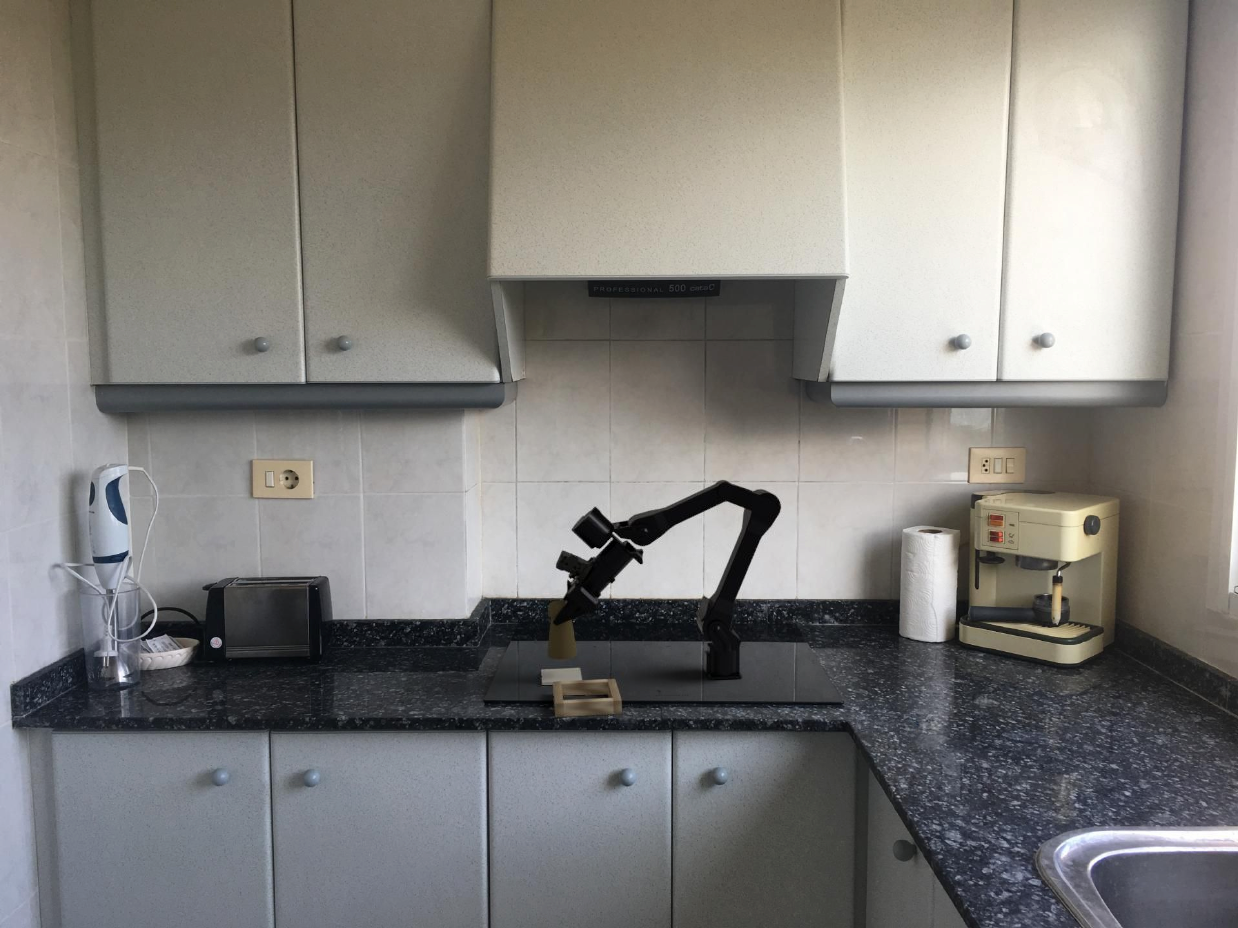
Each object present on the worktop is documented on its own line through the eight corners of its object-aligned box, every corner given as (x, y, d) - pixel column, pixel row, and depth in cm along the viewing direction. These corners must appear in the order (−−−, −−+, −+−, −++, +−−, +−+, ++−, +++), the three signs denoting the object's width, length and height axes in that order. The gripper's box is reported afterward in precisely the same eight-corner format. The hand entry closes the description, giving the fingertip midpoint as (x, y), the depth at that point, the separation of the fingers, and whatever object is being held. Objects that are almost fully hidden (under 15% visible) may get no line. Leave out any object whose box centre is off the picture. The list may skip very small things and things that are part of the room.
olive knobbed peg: (567, 660, 178) (565, 605, 177) (541, 656, 180) (539, 603, 180) (582, 652, 183) (581, 599, 182) (557, 648, 186) (556, 596, 185)
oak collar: (614, 691, 175) (614, 678, 175) (621, 713, 163) (621, 700, 163) (553, 694, 174) (552, 681, 173) (555, 716, 162) (555, 703, 162)
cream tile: (579, 671, 187) (579, 667, 187) (582, 684, 179) (582, 680, 179) (541, 673, 186) (541, 669, 186) (542, 686, 178) (542, 682, 178)
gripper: (578, 529, 189) (527, 583, 190) (579, 545, 171) (522, 605, 171) (616, 565, 190) (565, 618, 191) (621, 585, 172) (565, 643, 172)
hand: (554, 620), depth 181 cm, fingers closed on olive knobbed peg, 5 cm apart
